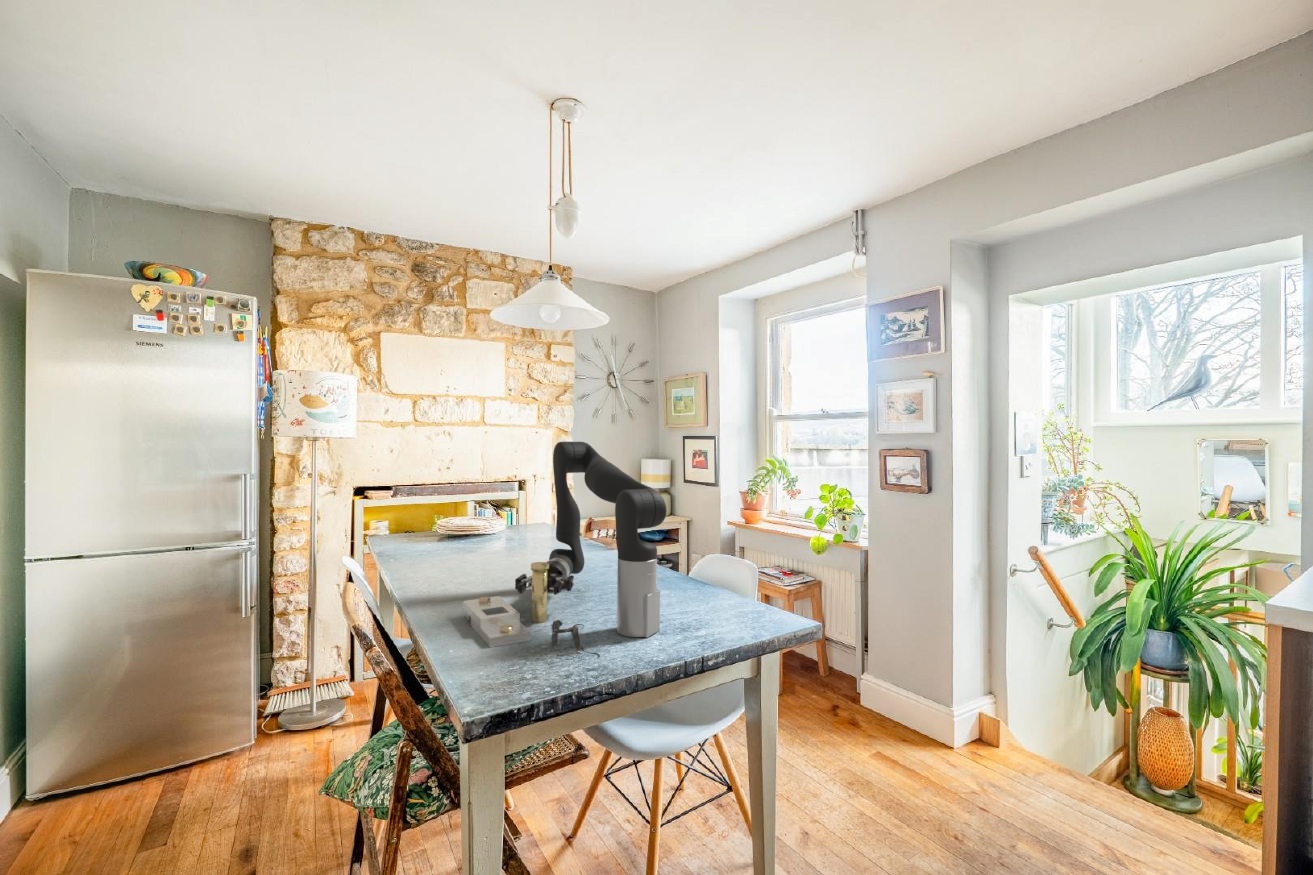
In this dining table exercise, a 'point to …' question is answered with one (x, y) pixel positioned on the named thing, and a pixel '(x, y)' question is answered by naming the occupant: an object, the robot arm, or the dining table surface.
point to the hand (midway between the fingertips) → (537, 589)
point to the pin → (539, 591)
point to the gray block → (495, 621)
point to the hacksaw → (575, 631)
